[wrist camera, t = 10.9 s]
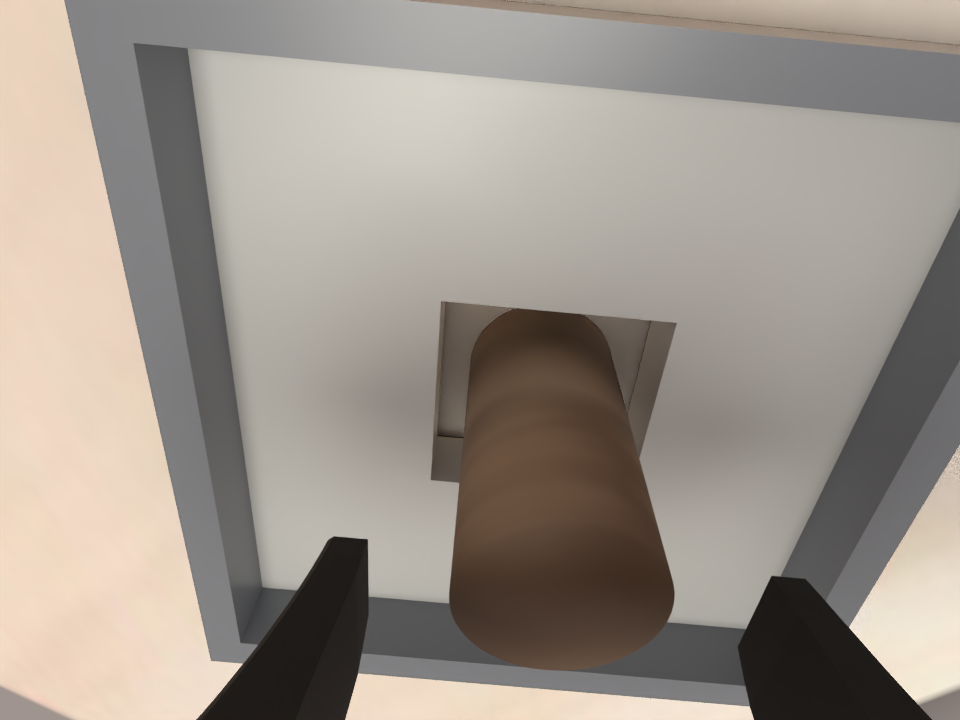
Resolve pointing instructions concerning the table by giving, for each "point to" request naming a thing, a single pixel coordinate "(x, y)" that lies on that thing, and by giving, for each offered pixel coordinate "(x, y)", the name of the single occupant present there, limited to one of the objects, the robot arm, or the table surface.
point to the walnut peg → (553, 503)
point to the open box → (531, 291)
